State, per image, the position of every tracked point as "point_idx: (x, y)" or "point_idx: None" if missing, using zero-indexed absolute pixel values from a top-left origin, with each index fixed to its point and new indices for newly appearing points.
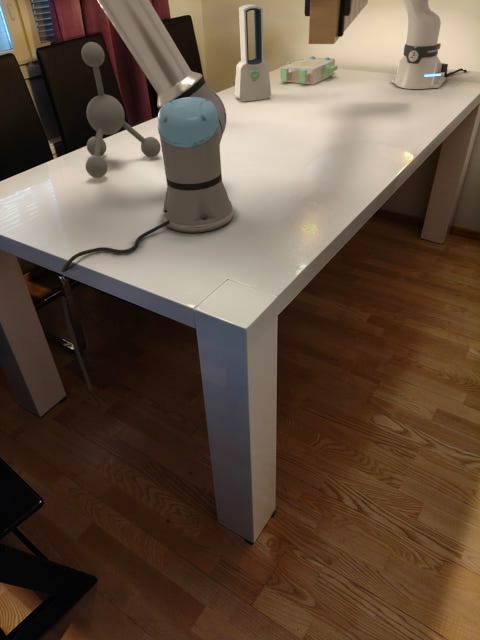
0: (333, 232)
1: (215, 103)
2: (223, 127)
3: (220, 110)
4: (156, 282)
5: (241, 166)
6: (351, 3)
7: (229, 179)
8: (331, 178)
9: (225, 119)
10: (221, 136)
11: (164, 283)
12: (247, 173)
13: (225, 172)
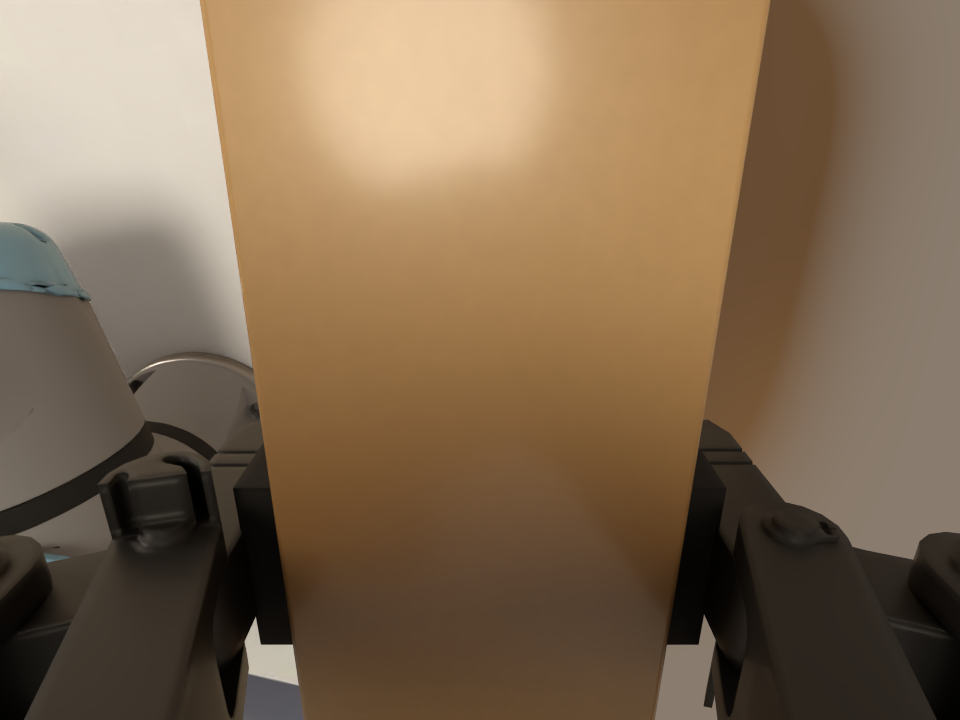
0: None
1: (4, 403)
2: (107, 384)
3: (43, 380)
4: (268, 659)
5: (146, 21)
6: (762, 480)
7: (165, 166)
8: None
9: (59, 295)
10: (146, 450)
11: (284, 659)
12: (202, 96)
13: (118, 100)
